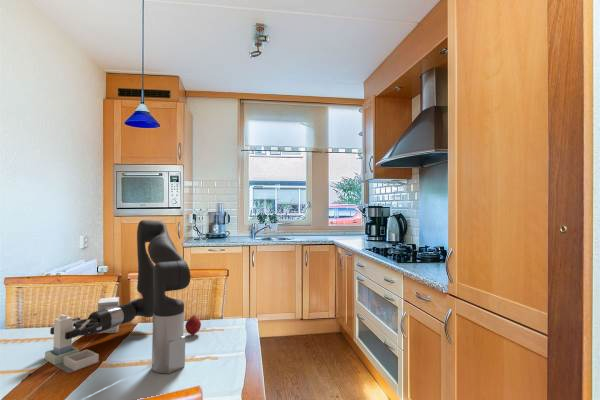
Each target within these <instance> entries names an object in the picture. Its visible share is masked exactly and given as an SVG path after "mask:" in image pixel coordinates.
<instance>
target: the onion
mask: <svg viewBox="0 0 600 400" xmlns="http://www.w3.org/2000/svg"><path fill="white" fill-rule="evenodd" d="M184 327H185V331H186V332H187V333H188V334H189V335H191V336H194V335H196V334H197V333H198V332H199V331H200V329H201V327H202V322H201V320H200V319H199V318H198V317H196V314H192V315H191V317H189V318H188V320H187V321H186V323H185V325H184Z"/></svg>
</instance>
